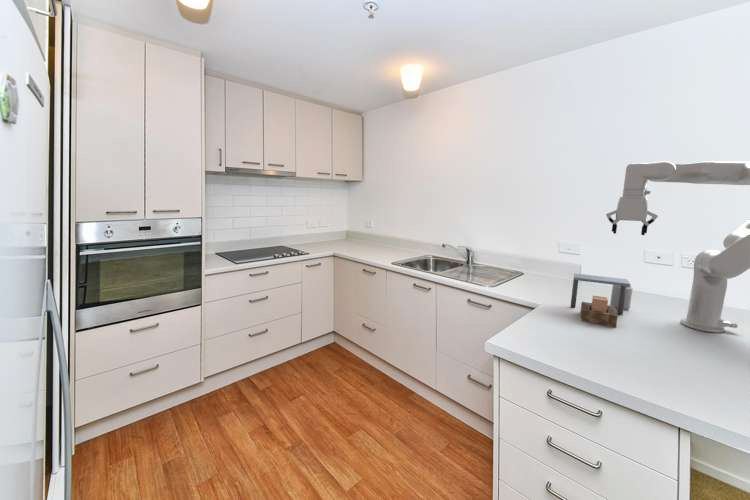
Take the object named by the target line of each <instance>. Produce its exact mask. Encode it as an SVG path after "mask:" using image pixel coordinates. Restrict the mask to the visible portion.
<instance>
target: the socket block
mask: <svg viewBox="0 0 750 500" xmlns="http://www.w3.org/2000/svg"><path fill="white" fill-rule="evenodd" d="M591 307H592V302H586V301H581V304H580V322H582V323H586V324H587V323H588V324H594V325H600V326H604V327H611V328H617V323H618V317H619V315H618V314H617V309H615V307H614V306H611V305H609V304H608V305H607V312H606V313H605V312H599V311H592V310H591Z"/></svg>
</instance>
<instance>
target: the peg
mask: <svg viewBox="0 0 750 500" xmlns="http://www.w3.org/2000/svg"><path fill="white" fill-rule="evenodd" d="M591 303H592V307H591V310H592V311H599V312H605V313H606V312H607V305H608V306H609V304H608V303H609V299H608V297H605V296H600V295H599V296H598V295H592V300H591Z"/></svg>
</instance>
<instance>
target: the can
mask: <svg viewBox="0 0 750 500" xmlns="http://www.w3.org/2000/svg"><path fill="white" fill-rule="evenodd" d="M620 288H621V286H620V285H612V289H611V295H610V296H611V297H610V302H609V306H614V307H615V310H618V303H619V296H620ZM633 289H634V288H633V287H632V284H631V283H630V287H628V286H627V287H626V294H625V301H624V308H623V311H626V310H629V309H630V308H631V303H632V297H633V296H632V294H633Z"/></svg>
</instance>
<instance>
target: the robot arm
mask: <svg viewBox="0 0 750 500" xmlns="http://www.w3.org/2000/svg"><path fill="white" fill-rule="evenodd" d="M624 174H625V175H624V181H623V182H624V183H623V189H622V196H620V197H619V199H618V203H617V207H616V210H613V211H611V212H607V213H605V215H606V218H607V220H608V221H609V222H610V223H611V224H612V226H611V227H612V228H611V232H612V233H613V234H615V235H616V234H617V229H618V222H620V221H629V222H630V221H632V222H641V223H642V224H643V225H642V226H641V231H640V235H642V236H645V234H648V233H647V232H648V227H649V225H651V224H652V223H654V222H655V221H656V219H657V218H659V215H657V214H655V213H653V212H651V211H648V207H649V206H648V197H647V195H651V190H648V189H647V185H648V181H650V182H654V183H655V182H656V183H682V184H683V183H685V184H697V185H729V186H730V185H732V186H750V161H719V160H717V161H715V160H711V161H710V160H709V161H707V160H706V161H699V162H693V163H672V162H670V161H657V162H649V163H647V162H636V163H630V164H627V166H626V167H625V173H624ZM614 215H615V219H613V217H611V216H614ZM648 216H650V217H651V218H650V219H649V220H646V219H647V217H648ZM722 243H723V247H724V248H725V249H723V250H719V249H718V250H717V249H706V250H702V251H701V252H699V253H698V254H697V255H696V256H695V258H694V261H693V278H692V285H691V290H690V295H689V296H690V297H689V302H688V306H687V312H686V317H684V318H681V319H680V323H681V324H682V325H683V326H685V327H688V328H691V329H693V330H698V331H700V332H701V331H702V332H706V333H707V332H709V333H718V334H719V333H723V332H724V331H725V328H726V327H727V328H732V329H737V328H738V326H739V325H738V323H737V322H731V321H729V320H724V319H723V318H722V313H723V309H724V303H725V298H726V297H725V296H726V293H727V288H728V280H729V279H733V278H736V277H738V276H741V275H742V274H744V273H746V271H748V270H750V219H748V220H747V221H745V222H744V223H743V224H741V225H740V226H739V227H737V228H736V229H735V230H733V231H731V233H729V234H727V236H726V237H724V239H723V242H722Z"/></svg>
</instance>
